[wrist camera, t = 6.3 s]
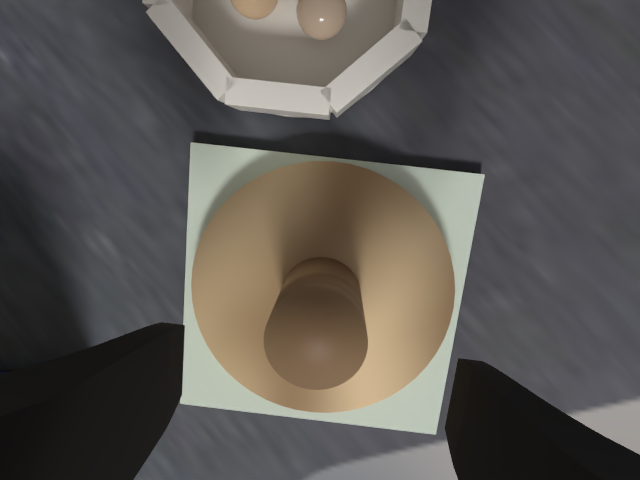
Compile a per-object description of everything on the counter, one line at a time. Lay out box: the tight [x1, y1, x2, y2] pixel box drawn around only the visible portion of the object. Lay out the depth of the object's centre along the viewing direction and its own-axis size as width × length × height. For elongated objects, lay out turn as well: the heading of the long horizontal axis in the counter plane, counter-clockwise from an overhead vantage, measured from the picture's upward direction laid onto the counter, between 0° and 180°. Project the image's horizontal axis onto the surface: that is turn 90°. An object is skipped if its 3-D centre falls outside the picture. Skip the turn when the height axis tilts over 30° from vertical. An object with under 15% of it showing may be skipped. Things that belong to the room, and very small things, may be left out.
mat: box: [180, 142, 485, 435], centre depth 17 cm, size 11×11×1 cm
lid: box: [191, 161, 455, 413], centre depth 14 cm, size 10×10×5 cm
